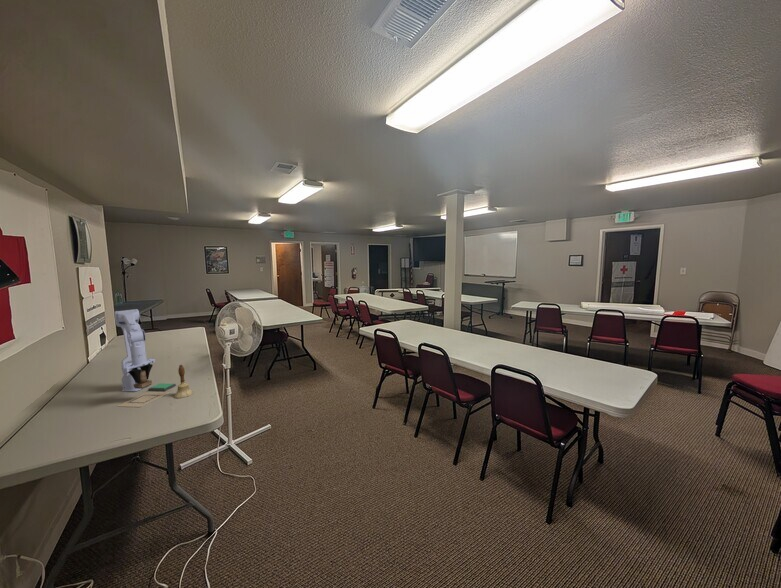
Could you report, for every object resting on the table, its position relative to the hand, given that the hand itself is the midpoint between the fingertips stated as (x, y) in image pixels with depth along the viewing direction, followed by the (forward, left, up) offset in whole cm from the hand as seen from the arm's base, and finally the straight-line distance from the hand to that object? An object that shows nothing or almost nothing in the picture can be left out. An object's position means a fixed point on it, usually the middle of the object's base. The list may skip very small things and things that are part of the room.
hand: (142, 381), depth 148 cm
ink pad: (-3, +13, -10) cm, 16 cm away
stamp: (0, 0, -3) cm, 3 cm away
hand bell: (+17, +6, -10) cm, 21 cm away
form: (0, 0, -10) cm, 10 cm away
